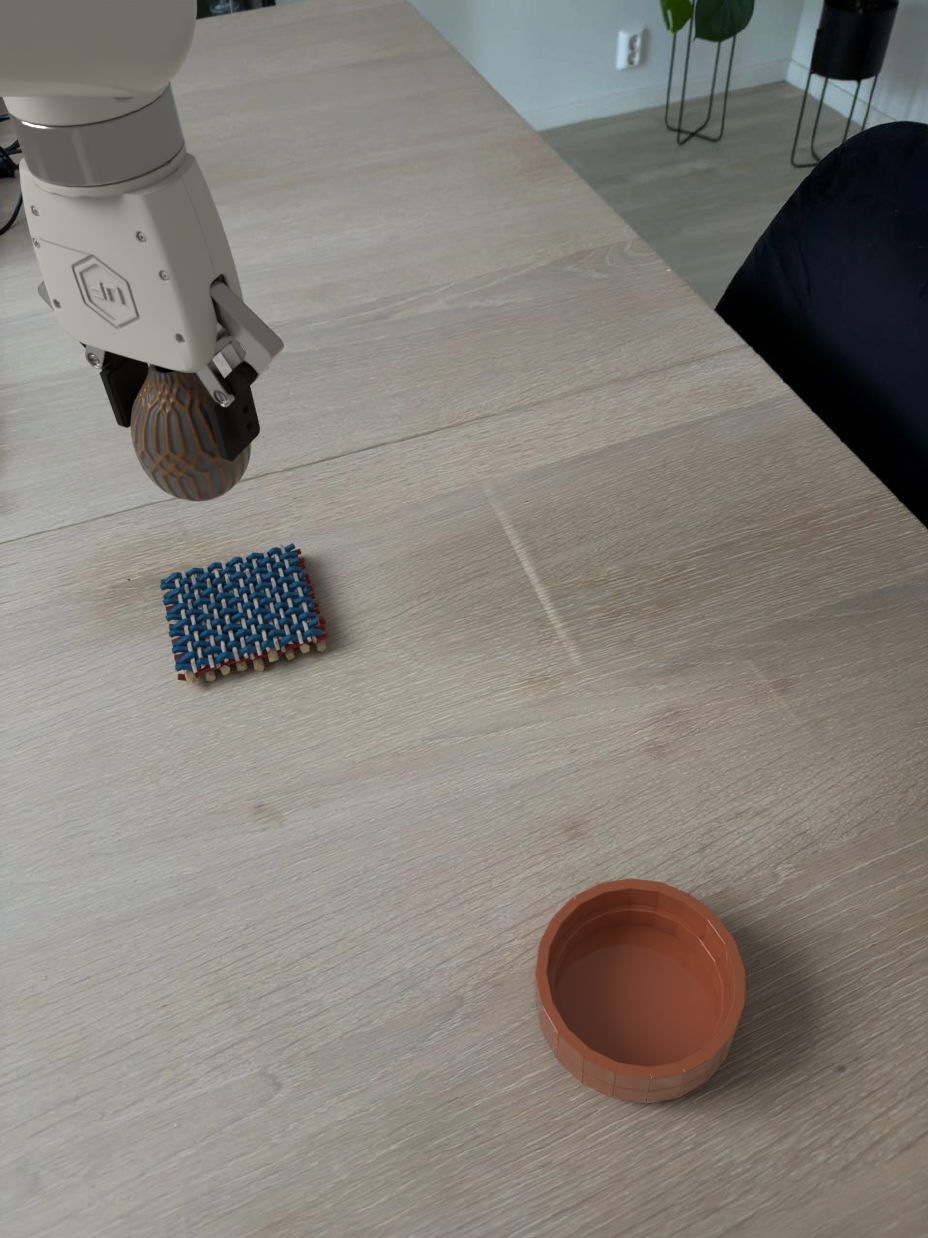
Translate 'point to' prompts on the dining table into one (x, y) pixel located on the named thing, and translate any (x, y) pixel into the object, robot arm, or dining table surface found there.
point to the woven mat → (241, 613)
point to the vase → (181, 438)
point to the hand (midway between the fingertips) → (189, 428)
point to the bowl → (639, 990)
